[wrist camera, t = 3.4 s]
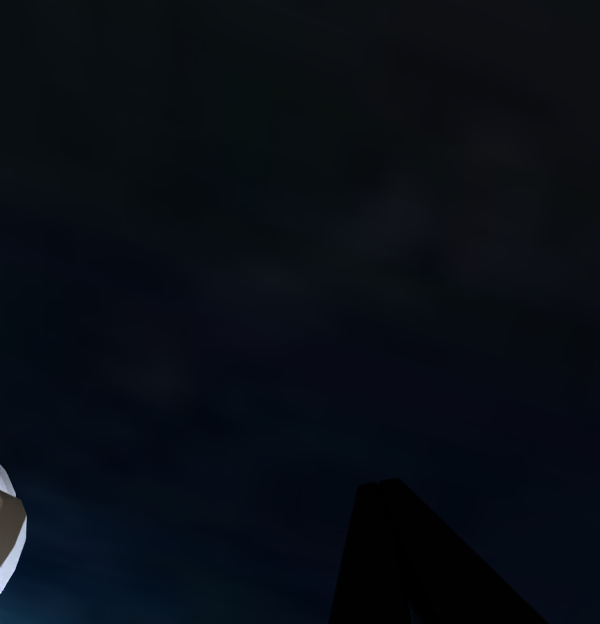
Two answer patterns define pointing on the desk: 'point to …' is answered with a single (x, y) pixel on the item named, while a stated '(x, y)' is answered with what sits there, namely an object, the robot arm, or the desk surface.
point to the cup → (10, 528)
